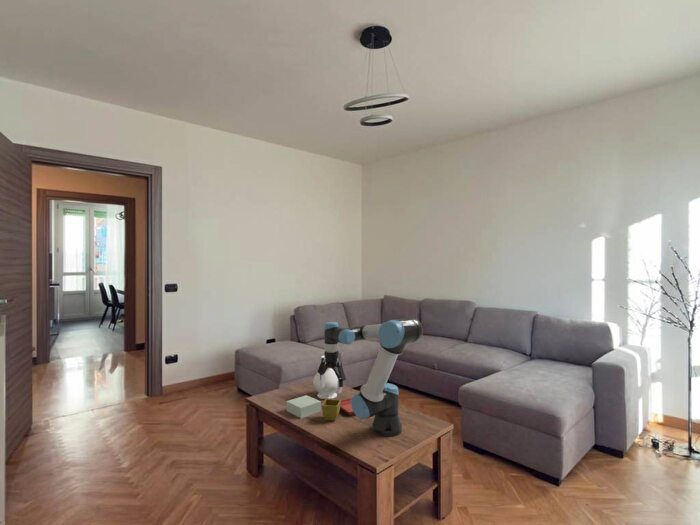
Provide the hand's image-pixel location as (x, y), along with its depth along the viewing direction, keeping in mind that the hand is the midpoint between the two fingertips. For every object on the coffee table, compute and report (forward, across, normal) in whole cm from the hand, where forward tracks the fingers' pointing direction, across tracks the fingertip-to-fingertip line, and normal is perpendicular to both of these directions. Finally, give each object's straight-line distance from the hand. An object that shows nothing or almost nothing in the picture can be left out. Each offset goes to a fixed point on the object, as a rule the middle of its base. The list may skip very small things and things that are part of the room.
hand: (331, 389), depth 208 cm
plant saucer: (+16, +1, -19) cm, 25 cm away
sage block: (+16, +19, +4) cm, 25 cm away
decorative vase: (+16, +28, -22) cm, 39 cm away
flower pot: (+16, 0, 0) cm, 16 cm away
